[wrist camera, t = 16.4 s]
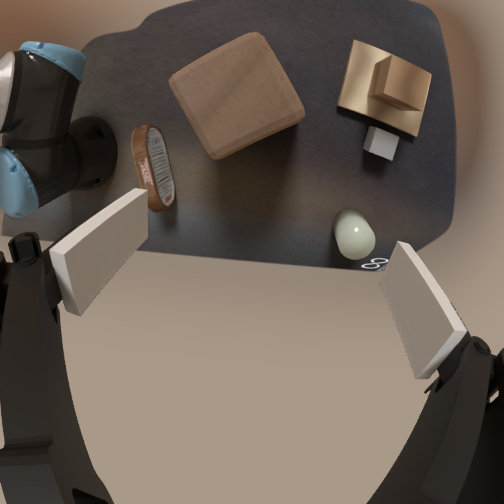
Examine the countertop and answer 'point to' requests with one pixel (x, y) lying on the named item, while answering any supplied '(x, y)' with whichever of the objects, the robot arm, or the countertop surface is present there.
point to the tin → (153, 166)
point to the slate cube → (381, 142)
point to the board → (358, 87)
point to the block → (236, 95)
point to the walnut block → (399, 84)
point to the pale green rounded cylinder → (353, 234)
